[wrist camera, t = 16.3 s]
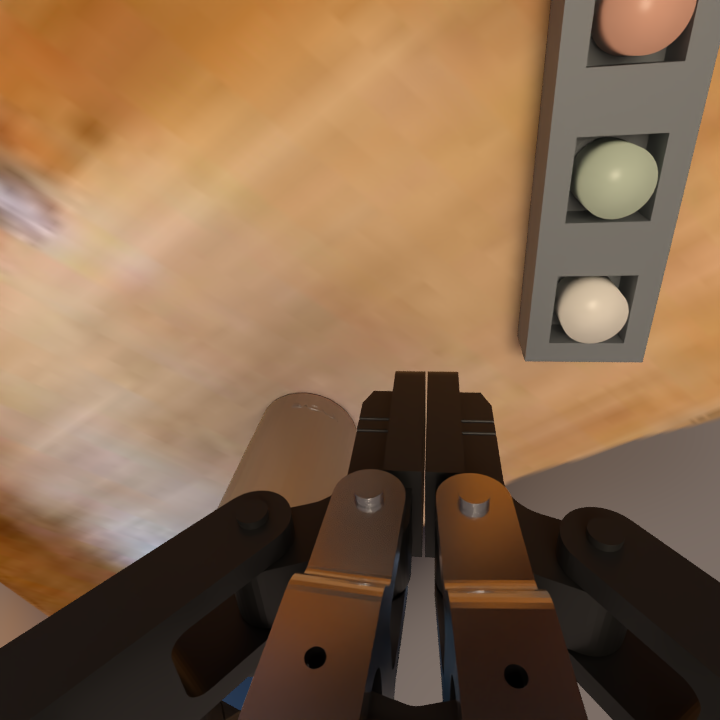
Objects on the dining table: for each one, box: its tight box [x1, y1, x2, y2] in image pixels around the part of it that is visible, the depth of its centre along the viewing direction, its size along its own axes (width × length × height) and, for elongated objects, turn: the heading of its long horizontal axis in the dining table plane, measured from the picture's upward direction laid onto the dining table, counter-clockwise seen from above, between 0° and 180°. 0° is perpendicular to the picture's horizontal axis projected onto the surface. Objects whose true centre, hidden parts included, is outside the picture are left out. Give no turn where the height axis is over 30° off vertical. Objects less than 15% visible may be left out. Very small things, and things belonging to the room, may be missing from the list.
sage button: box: [570, 137, 658, 219], centre depth 31 cm, size 4×4×3 cm
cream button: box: [554, 276, 629, 344], centre depth 36 cm, size 4×4×3 cm
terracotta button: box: [591, 0, 697, 56], centre depth 27 cm, size 4×4×3 cm
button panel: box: [518, 0, 720, 362], centre depth 32 cm, size 25×8×4 cm, turn 3°
